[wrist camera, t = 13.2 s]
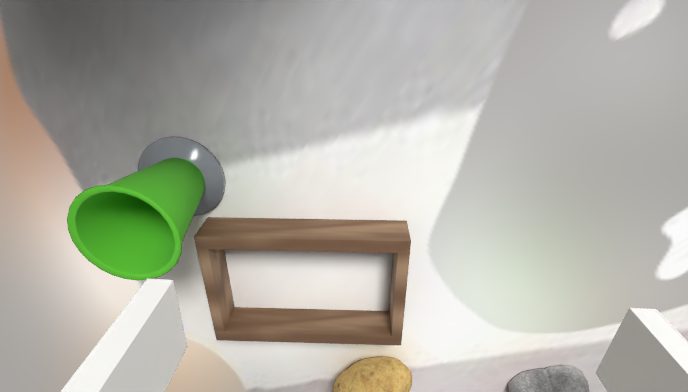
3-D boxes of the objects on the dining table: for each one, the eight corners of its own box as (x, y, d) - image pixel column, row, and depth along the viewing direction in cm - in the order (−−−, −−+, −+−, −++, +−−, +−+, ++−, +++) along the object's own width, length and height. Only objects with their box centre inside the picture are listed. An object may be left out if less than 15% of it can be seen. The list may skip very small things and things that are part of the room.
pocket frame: (207, 217, 43) (193, 237, 39) (406, 220, 42) (410, 241, 38) (226, 315, 50) (216, 340, 46) (397, 320, 49) (400, 345, 45)
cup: (175, 227, 43) (121, 294, 33) (120, 160, 39) (41, 214, 30) (240, 196, 41) (202, 259, 31) (188, 123, 37) (127, 167, 27)
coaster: (131, 136, 39) (128, 138, 38) (218, 137, 38) (216, 139, 38) (152, 212, 43) (149, 215, 42) (230, 214, 42) (229, 216, 42)
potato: (325, 357, 53) (321, 399, 47) (401, 338, 50) (406, 379, 45) (343, 387, 56) (341, 430, 50) (416, 370, 53) (423, 413, 48)
